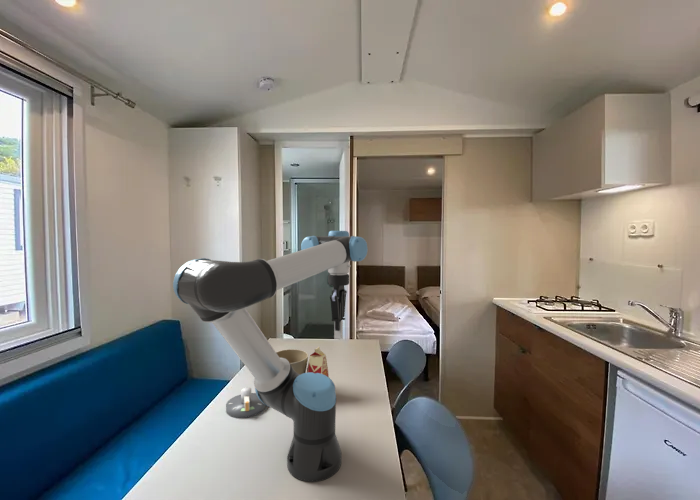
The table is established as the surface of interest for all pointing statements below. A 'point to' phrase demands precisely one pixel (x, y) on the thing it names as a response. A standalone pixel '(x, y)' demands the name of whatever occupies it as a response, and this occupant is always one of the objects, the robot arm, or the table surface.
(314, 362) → the milk carton
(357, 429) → the table surface
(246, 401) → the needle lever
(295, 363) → the plant pot
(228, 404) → the dial base
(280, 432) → the table surface
